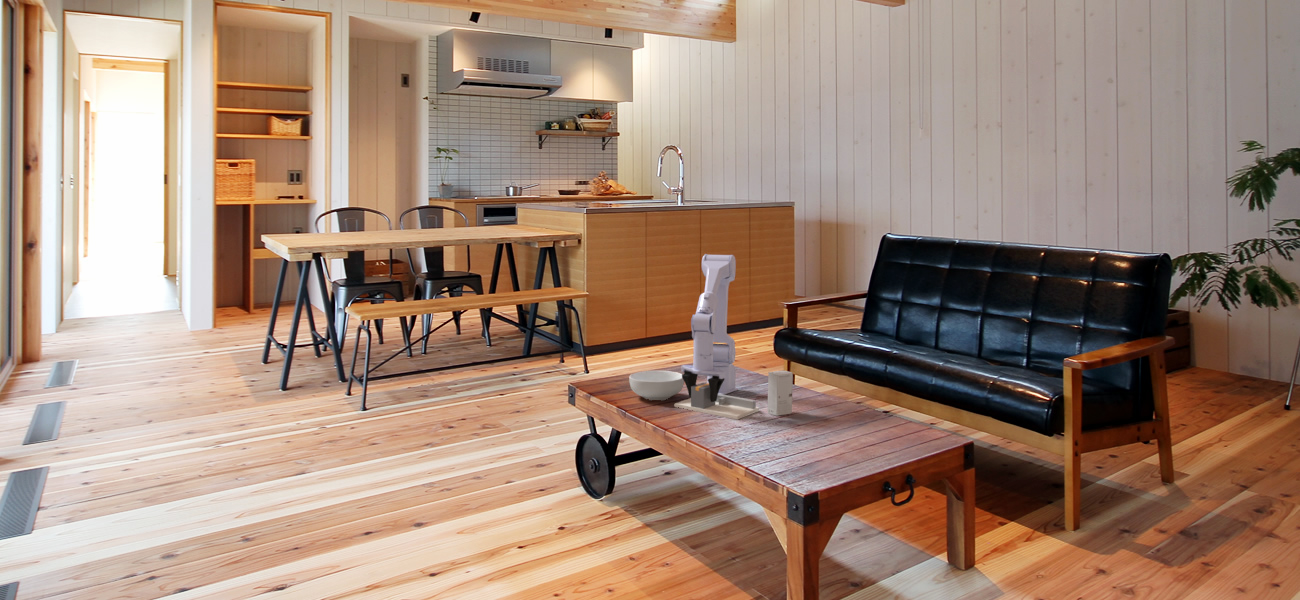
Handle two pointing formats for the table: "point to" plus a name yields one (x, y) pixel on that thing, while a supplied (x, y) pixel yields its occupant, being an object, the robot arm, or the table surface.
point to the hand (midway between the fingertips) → (702, 399)
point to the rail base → (725, 407)
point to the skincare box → (780, 392)
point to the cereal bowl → (656, 384)
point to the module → (701, 396)
